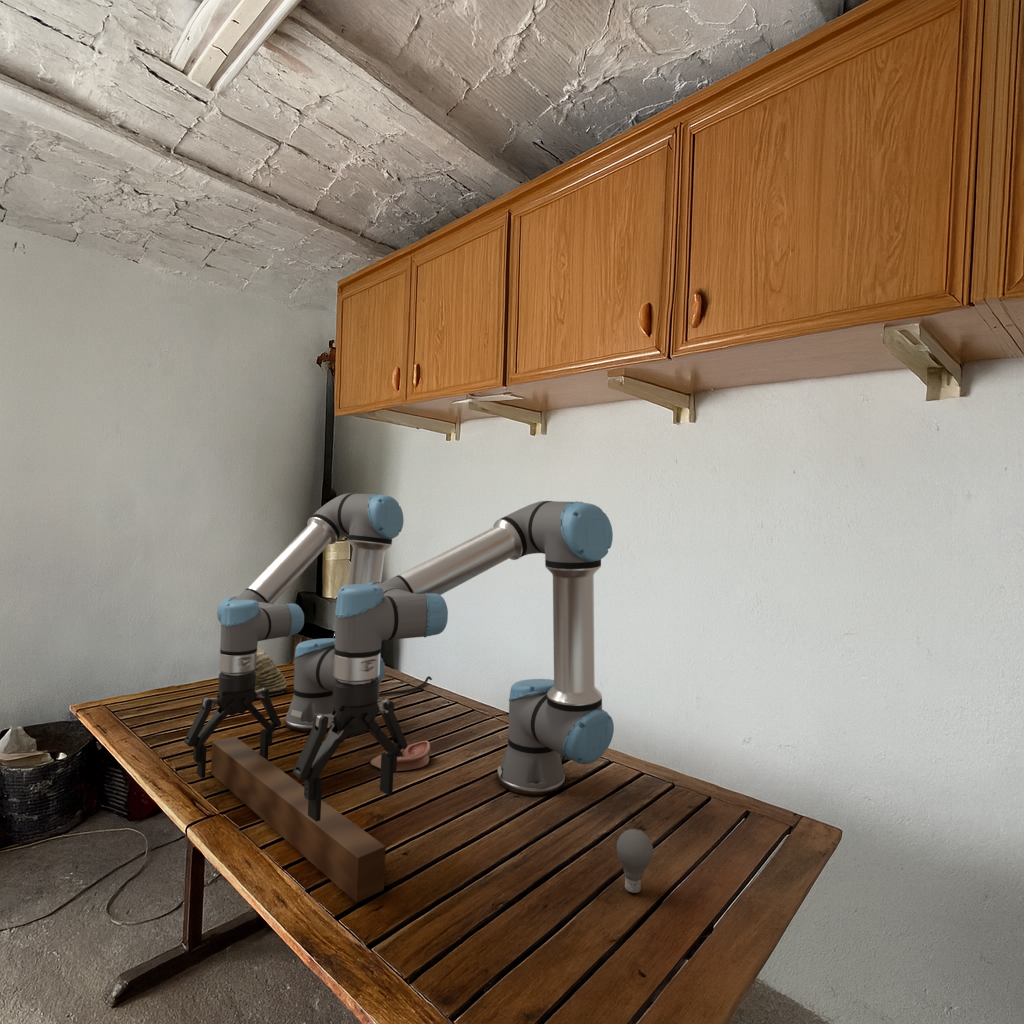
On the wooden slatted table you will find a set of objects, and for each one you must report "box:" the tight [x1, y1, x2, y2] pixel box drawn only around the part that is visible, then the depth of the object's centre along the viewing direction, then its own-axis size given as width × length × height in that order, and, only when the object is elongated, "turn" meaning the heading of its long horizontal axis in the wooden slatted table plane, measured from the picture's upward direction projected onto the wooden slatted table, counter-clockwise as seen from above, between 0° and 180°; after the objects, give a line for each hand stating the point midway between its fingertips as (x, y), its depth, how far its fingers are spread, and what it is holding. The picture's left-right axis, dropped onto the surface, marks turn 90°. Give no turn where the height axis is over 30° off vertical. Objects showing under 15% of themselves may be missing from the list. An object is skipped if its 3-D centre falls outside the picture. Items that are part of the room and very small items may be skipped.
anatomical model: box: [370, 740, 431, 772], centre depth 153 cm, size 13×4×12 cm
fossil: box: [254, 647, 288, 698], centre depth 198 cm, size 9×18×15 cm, turn 132°
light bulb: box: [615, 828, 654, 894], centre depth 106 cm, size 6×6×10 cm
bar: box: [210, 736, 387, 904], centre depth 123 cm, size 61×5×7 cm, turn 45°
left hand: (233, 767), depth 139 cm, fingers open, 13 cm apart
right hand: (351, 804), depth 106 cm, fingers open, 13 cm apart
